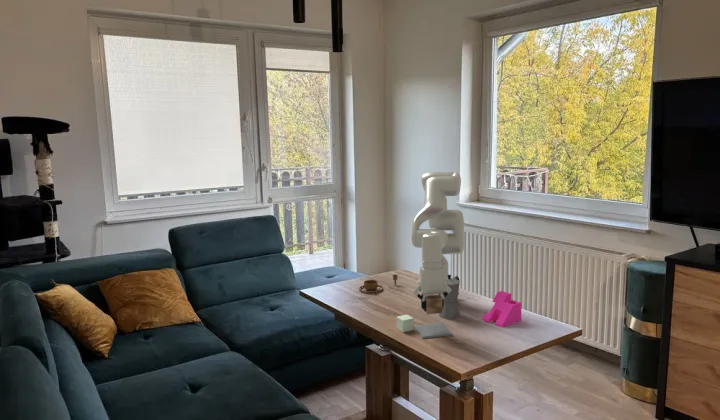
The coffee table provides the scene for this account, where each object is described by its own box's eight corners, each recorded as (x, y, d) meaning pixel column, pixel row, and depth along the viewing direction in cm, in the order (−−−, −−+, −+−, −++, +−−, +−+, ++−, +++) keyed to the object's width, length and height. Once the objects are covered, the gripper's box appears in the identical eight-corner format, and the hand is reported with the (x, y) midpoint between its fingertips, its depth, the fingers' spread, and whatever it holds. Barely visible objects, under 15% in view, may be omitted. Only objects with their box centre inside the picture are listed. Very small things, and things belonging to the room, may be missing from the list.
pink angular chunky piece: (501, 313, 224) (501, 290, 222) (521, 320, 216) (521, 296, 214) (482, 320, 217) (482, 296, 216) (502, 327, 209) (502, 303, 207)
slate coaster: (442, 324, 214) (442, 322, 214) (452, 335, 202) (452, 333, 202) (414, 327, 212) (414, 325, 212) (422, 338, 200) (422, 336, 200)
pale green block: (407, 326, 214) (407, 314, 213) (413, 330, 209) (413, 318, 209) (396, 328, 212) (396, 316, 211) (402, 332, 207) (402, 320, 206)
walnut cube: (437, 307, 209) (437, 293, 208) (442, 312, 203) (442, 298, 202) (423, 309, 208) (422, 294, 207) (427, 314, 202) (427, 299, 201)
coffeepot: (452, 322, 216) (452, 280, 213) (432, 318, 222) (432, 277, 219) (468, 311, 228) (468, 271, 226) (448, 307, 234) (448, 268, 231)
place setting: (359, 286, 272) (359, 275, 271) (397, 284, 272) (397, 274, 271) (358, 296, 255) (358, 285, 254) (399, 295, 254) (399, 283, 253)
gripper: (449, 261, 208) (450, 304, 211) (407, 264, 205) (408, 308, 208) (456, 265, 201) (456, 310, 203) (412, 268, 198) (413, 314, 201)
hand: (432, 308), depth 206 cm, fingers closed on walnut cube, 6 cm apart
